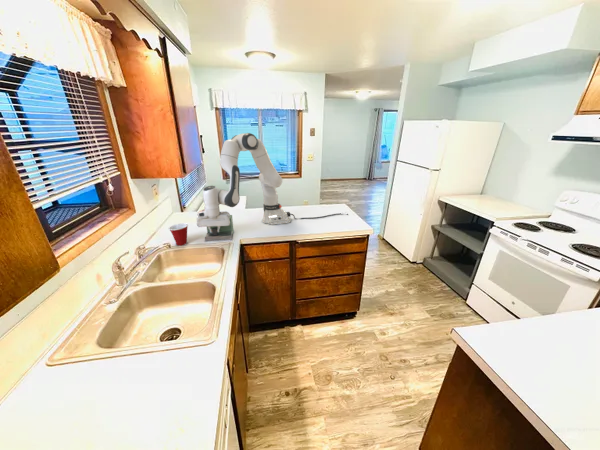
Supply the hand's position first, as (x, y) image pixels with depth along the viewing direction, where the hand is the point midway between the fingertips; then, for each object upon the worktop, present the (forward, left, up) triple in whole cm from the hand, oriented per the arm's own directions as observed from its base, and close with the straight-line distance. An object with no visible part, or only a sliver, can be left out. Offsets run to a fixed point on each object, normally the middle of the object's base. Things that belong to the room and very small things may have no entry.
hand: (214, 232), depth 155 cm
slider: (0, 0, -1) cm, 1 cm away
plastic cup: (+20, +5, -5) cm, 21 cm away
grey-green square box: (-2, -4, -4) cm, 7 cm away
